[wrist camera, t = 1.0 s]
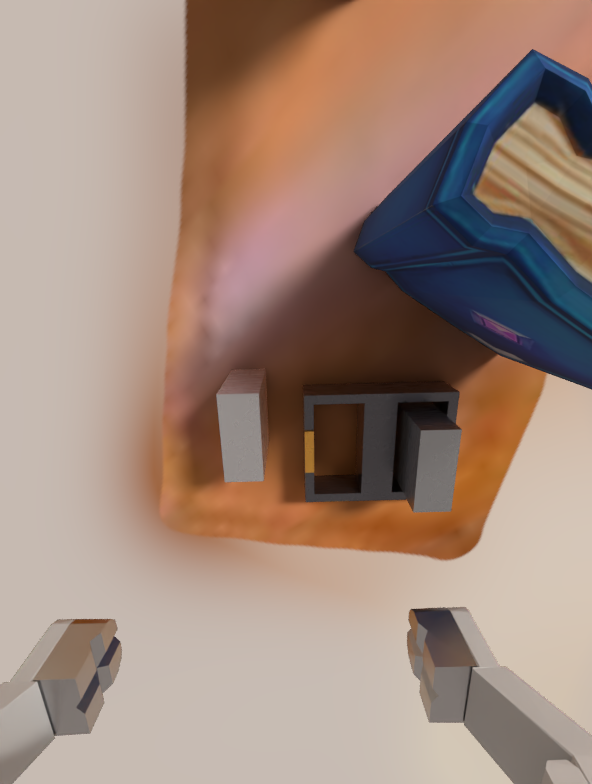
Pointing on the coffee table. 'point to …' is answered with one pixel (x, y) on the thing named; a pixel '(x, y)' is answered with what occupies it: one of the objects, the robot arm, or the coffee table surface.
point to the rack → (390, 443)
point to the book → (503, 222)
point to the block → (244, 425)
